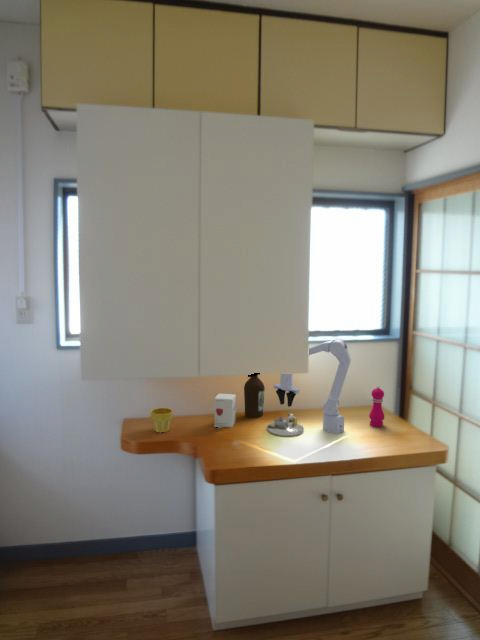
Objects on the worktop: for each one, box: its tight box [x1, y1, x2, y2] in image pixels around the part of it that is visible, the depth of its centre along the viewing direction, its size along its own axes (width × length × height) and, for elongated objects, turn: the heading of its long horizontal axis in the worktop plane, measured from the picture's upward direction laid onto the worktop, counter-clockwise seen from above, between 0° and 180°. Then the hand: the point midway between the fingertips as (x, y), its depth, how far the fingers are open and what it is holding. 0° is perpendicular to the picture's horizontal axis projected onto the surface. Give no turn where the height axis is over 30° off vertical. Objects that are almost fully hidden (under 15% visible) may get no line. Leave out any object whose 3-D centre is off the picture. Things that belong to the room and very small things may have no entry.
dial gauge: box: [286, 413, 295, 422], centre depth 230 cm, size 4×6×5 cm, turn 136°
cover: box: [274, 417, 289, 428], centre depth 220 cm, size 6×6×4 cm
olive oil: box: [243, 374, 266, 419], centre depth 239 cm, size 11×11×25 cm
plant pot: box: [150, 407, 174, 433], centre depth 219 cm, size 10×10×10 cm
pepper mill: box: [368, 385, 385, 428], centre depth 229 cm, size 7×7×20 cm
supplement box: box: [213, 393, 237, 429], centre depth 226 cm, size 9×9×15 cm
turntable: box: [267, 416, 305, 438], centre depth 219 cm, size 17×17×4 cm
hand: (285, 405), depth 226 cm, fingers open, 4 cm apart
